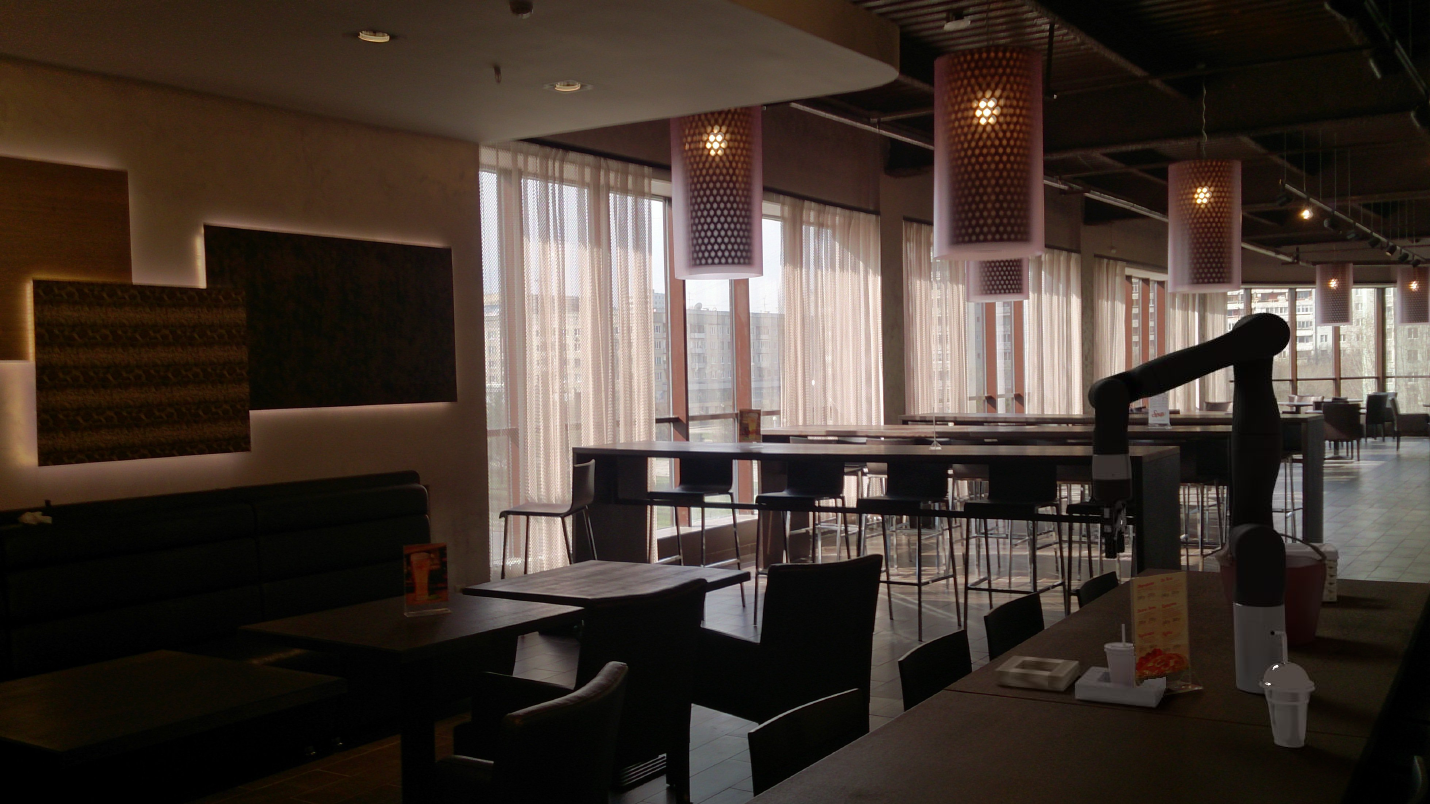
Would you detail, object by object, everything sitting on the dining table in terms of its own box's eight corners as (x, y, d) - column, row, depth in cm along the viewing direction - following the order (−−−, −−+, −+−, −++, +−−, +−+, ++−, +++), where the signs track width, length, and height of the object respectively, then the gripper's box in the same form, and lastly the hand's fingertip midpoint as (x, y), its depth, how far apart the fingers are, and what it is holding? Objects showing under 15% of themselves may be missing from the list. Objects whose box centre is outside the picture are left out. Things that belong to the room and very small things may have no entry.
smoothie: (1142, 698, 218) (1139, 627, 217) (1108, 698, 219) (1105, 627, 219) (1136, 689, 224) (1134, 621, 224) (1103, 689, 225) (1101, 620, 225)
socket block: (1079, 675, 237) (1078, 661, 237) (1063, 691, 225) (1062, 676, 225) (1014, 668, 244) (1014, 655, 244) (995, 684, 232) (994, 670, 232)
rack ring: (1168, 688, 224) (1168, 673, 224) (1155, 707, 211) (1154, 691, 211) (1092, 680, 232) (1091, 666, 232) (1075, 698, 219) (1074, 683, 219)
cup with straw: (1329, 747, 185) (1324, 628, 185) (1285, 754, 182) (1281, 633, 182) (1289, 733, 193) (1285, 619, 193) (1247, 739, 190) (1242, 624, 190)
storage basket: (1244, 601, 309) (1242, 548, 309) (1241, 591, 324) (1240, 541, 324) (1342, 604, 300) (1340, 550, 299) (1334, 593, 314) (1332, 542, 314)
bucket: (1218, 644, 259) (1214, 538, 259) (1214, 625, 280) (1210, 526, 280) (1337, 649, 250) (1333, 539, 250) (1324, 629, 271) (1320, 527, 270)
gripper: (1124, 479, 217) (1128, 561, 217) (1137, 473, 229) (1140, 551, 229) (1085, 479, 221) (1088, 560, 221) (1099, 473, 233) (1103, 550, 233)
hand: (1115, 555), depth 225 cm, fingers open, 8 cm apart
